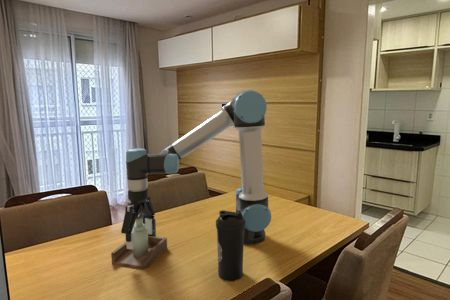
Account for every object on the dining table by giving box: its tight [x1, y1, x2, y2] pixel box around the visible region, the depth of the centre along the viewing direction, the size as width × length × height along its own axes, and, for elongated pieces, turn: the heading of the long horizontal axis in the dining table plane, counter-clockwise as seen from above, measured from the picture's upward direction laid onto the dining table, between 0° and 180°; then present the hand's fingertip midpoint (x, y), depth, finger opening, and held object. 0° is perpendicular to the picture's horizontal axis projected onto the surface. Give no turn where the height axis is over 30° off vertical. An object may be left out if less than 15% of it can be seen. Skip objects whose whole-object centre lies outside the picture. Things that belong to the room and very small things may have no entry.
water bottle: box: [215, 209, 245, 282], centre depth 104 cm, size 10×10×23 cm
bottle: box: [132, 213, 149, 257], centre depth 118 cm, size 6×6×16 cm
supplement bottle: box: [141, 212, 157, 237], centre depth 134 cm, size 7×7×12 cm
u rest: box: [110, 236, 168, 270], centre depth 119 cm, size 14×17×4 cm
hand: (140, 240), depth 118 cm, fingers open, 13 cm apart
